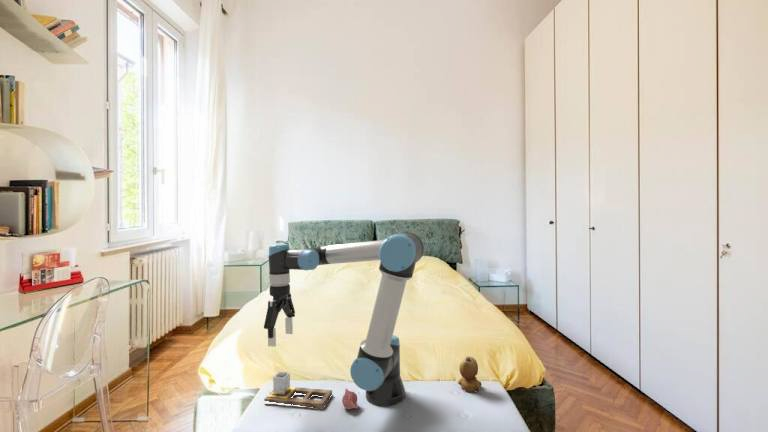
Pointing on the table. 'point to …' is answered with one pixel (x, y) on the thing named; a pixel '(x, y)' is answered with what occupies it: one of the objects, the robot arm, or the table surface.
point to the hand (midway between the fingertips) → (281, 339)
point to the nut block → (281, 383)
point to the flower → (349, 400)
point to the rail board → (305, 400)
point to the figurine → (469, 375)
